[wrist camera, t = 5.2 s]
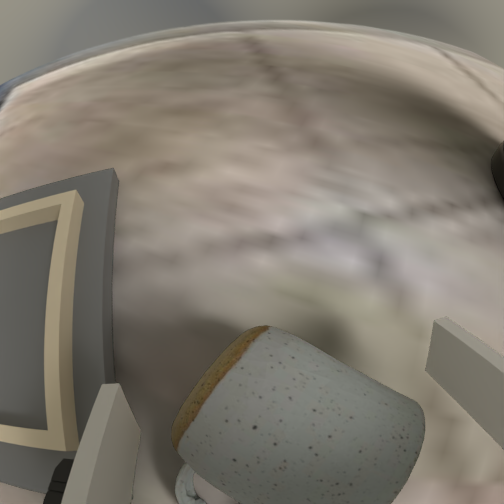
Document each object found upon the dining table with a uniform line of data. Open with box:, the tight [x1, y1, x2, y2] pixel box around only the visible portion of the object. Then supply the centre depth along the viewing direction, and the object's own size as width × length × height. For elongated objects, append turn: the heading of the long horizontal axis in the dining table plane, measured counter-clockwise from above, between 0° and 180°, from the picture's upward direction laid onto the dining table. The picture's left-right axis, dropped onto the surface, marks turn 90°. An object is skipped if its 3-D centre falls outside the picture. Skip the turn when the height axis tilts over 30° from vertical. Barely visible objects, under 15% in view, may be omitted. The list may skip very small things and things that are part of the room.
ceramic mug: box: [171, 326, 425, 504], centre depth 11 cm, size 11×8×8 cm
